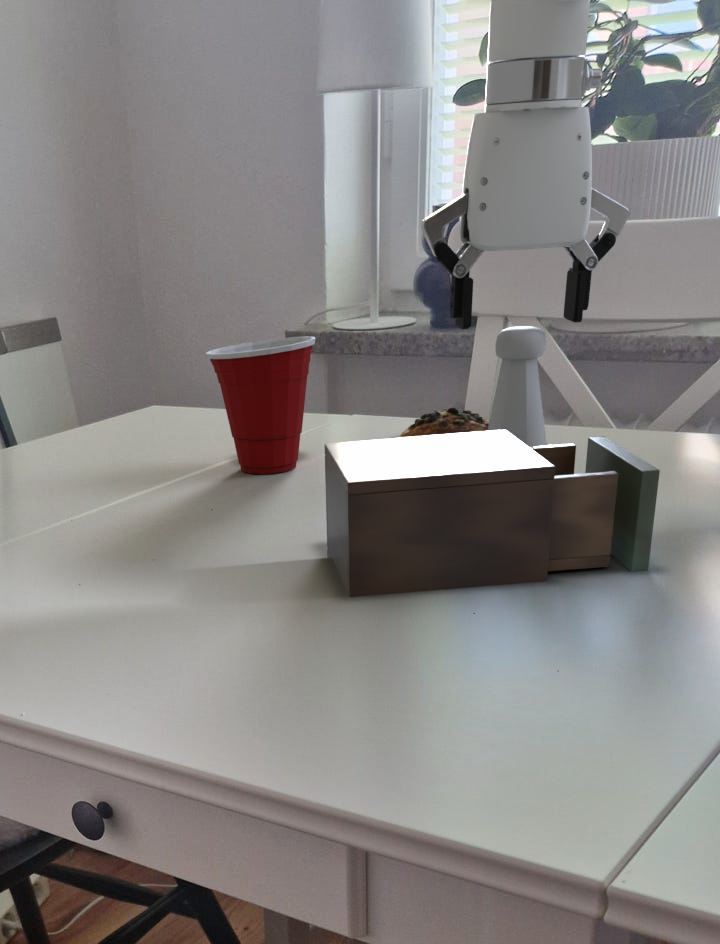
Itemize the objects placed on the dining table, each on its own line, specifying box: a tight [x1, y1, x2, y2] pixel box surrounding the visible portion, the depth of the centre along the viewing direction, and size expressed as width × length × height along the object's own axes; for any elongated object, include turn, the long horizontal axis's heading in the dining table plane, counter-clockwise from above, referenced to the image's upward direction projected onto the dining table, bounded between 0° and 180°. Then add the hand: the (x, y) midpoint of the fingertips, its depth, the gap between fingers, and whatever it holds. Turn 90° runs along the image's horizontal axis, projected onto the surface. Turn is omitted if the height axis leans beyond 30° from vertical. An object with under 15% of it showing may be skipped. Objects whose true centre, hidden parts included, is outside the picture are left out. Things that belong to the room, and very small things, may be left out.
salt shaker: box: [488, 325, 548, 447], centre depth 104 cm, size 6×6×13 cm
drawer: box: [530, 435, 661, 573], centre depth 83 cm, size 14×11×7 cm
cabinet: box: [324, 429, 555, 598], centre depth 83 cm, size 14×13×9 cm
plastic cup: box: [205, 335, 316, 475], centre depth 115 cm, size 11×11×12 cm
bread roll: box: [399, 406, 490, 438], centre depth 119 cm, size 11×11×5 cm
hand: (517, 323), depth 101 cm, fingers open, 9 cm apart
